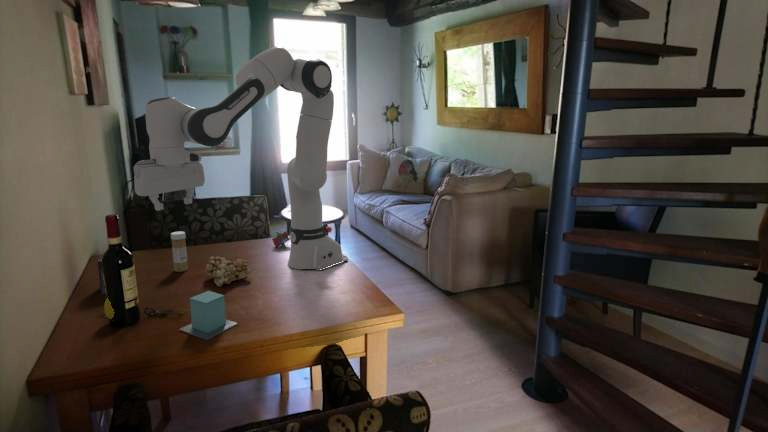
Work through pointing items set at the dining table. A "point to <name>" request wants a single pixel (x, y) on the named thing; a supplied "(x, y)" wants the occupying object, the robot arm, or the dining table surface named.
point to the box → (101, 274)
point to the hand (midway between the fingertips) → (174, 206)
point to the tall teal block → (208, 311)
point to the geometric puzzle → (280, 239)
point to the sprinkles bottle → (179, 251)
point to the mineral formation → (226, 270)
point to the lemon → (108, 309)
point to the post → (211, 334)
